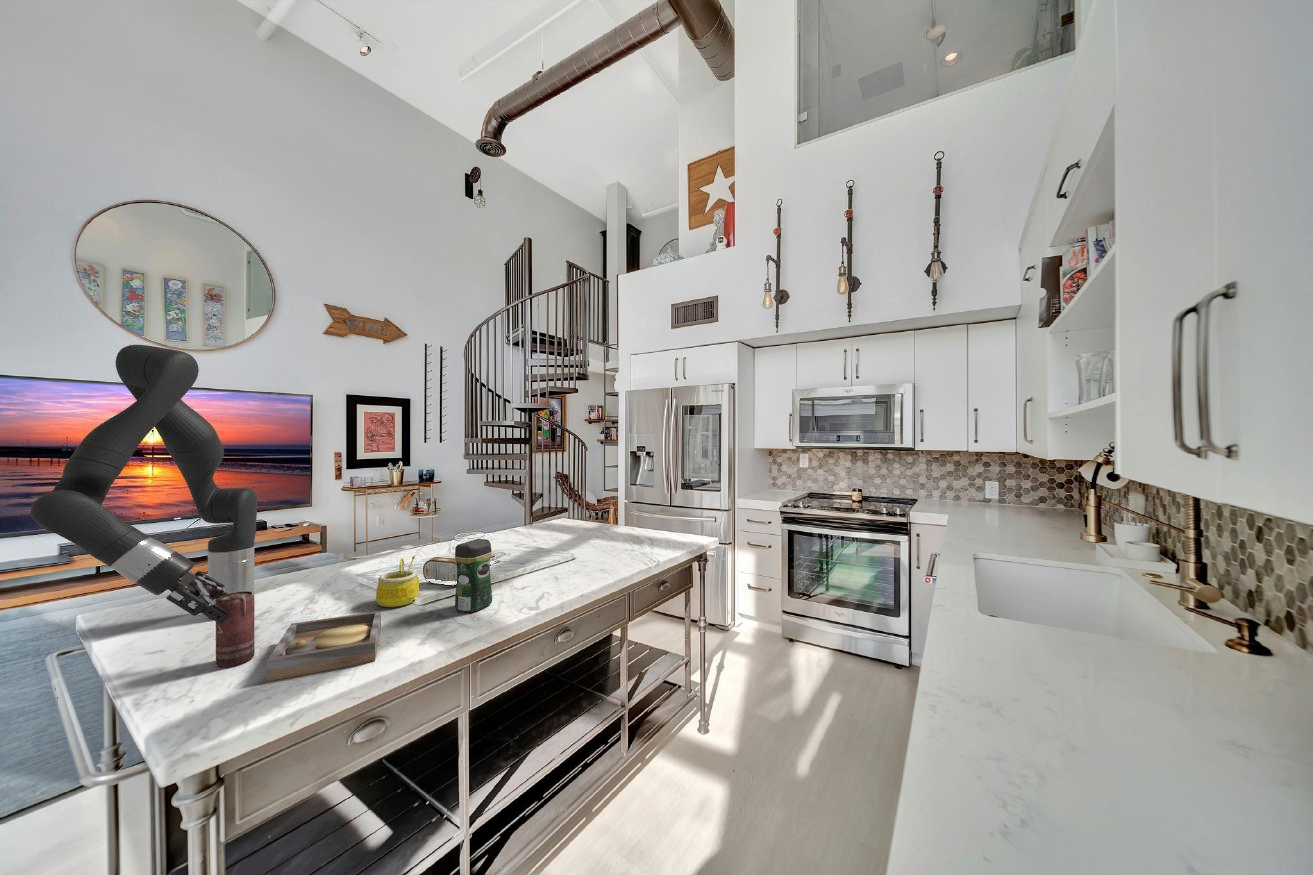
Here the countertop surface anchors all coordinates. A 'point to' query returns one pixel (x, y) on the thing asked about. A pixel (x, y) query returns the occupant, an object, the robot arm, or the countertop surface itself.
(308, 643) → the carrier tray
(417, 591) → the yellow pot
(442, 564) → the tin
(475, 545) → the coffee jar
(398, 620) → the countertop surface
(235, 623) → the can
